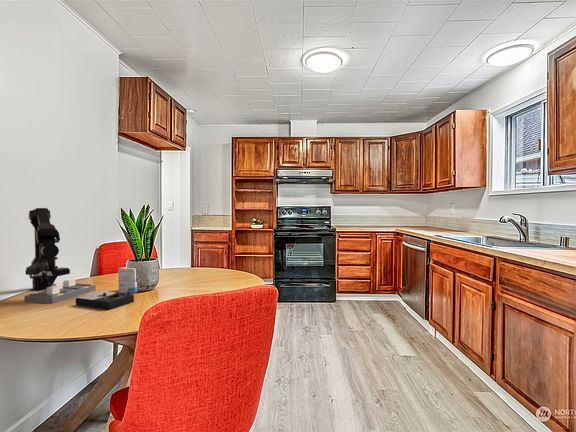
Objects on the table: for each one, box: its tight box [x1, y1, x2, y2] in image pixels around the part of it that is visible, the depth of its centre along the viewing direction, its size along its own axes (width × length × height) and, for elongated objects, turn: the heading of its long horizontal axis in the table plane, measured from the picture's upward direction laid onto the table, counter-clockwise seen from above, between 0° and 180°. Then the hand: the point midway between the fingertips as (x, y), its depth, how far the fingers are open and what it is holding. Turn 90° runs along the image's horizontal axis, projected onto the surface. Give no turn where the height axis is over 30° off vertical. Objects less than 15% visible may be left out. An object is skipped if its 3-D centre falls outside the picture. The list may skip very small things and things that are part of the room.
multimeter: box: [75, 290, 135, 311], centre depth 147 cm, size 13×19×5 cm
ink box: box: [117, 266, 138, 294], centre depth 167 cm, size 9×5×12 cm, turn 84°
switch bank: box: [23, 282, 97, 304], centre depth 161 cm, size 15×24×3 cm, turn 167°
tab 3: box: [63, 278, 76, 287], centre depth 168 cm, size 3×4×3 cm
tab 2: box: [47, 286, 60, 295], centre depth 153 cm, size 3×4×3 cm
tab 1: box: [52, 281, 64, 289], centre depth 161 cm, size 3×4×3 cm
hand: (48, 290), depth 154 cm, fingers closed
